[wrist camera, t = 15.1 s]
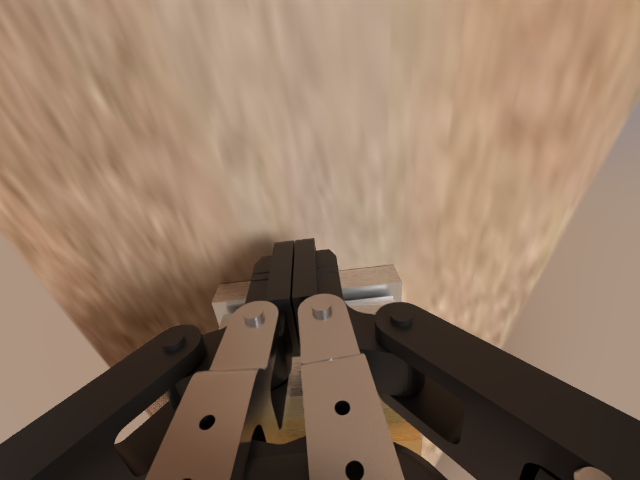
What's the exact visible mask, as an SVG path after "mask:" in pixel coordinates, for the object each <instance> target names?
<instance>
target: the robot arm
mask: <svg viewBox="0 0 640 480" xmlns="http://www.w3.org/2000/svg"><path fill="white" fill-rule="evenodd" d="M300 356H302V364H301V379H302V391H303V404H304V417H305V429H306V436H304V437H301V438H298V439H296V440H293V441H291V442H288V443H285V434H286V426H287V418H288V410H289V402H290V394H291V386H292V374H291V369H292V357H300ZM377 392H378V394H377ZM164 393H166V395H167V397H168V399H169V402H167V403H166V404H165V405H164V406H163V407H162V408H161V409H159V410H158V411H157V412H156V413H155V414H154V415H152V416H151V417H150V418H149V419H148V420H147V421H146V422H145V423H143V424H142V425H141V426H140V427H139V428H138V429H136V430H135V431H134V432H133V433H132V434H130V435H129V436H128V437H127V438H126V439H125V440H123V441H122V442H120V443H117V444H114V442H115V439H116V437H117V435H118V434H119V432H120V431H121V430H122V429H123V428H124V427H125V426H126V425H127V424H129V422H131V421H132V420H133V419H135V417H137V416H138V415H139V414H140V413H142V412H143V411H144V410H145V409H146V408H148V407H149V406H150V405H151V404H152V403H154V402H155V401H156V400H157V399H158V398H160V397H161V396H162V395H163V394H164ZM378 395H379V397H380V398H381V400H382V401H383V402H384V403H385V404H386V405H388V406H389V407H390V408H391V409H392V410H394V411H395V412H396V413H397V414H399V415H400V416H401V417H402V418H403V419H405V420H406V421H407V422H408V423H409V424H411V425H412V426H413V427H414V428H415V429H417V430H418V431H419V432H420V433H421V434H423V435H424V436H425V437H426V438H427V439H429V440H430V441H431V442H432V443H433V444H435V445H436V446H437V447H438V448H439V449H441V450H442V451H443V452H444V453H446V454H447V455H448V456H449V457H450V458H452V459H453V460H454V461H455V462H456V463H458V464H459V465H460V466H461V467H462V468H464V469H465V470H466V471H467V472H468V473H470V474H471V475H472V476H473V477H475V478H476V479H477V480H640V421H639V420H637V419H635V418H633V417H631V416H629V415H627V414H625V413H624V412H622V411H620V410H618V409H616V408H614V407H612V406H610V405H608V404H606V403H604V402H602V401H600V400H598V399H596V398H595V397H592V396H591V395H589V394H587V393H585V392H583V391H581V390H579V389H577V388H575V387H573V386H571V385H569V384H567V383H565V382H563V381H561V380H559V379H558V378H556V377H554V376H552V375H550V374H548V373H546V372H544V371H542V370H540V369H538V368H536V367H534V366H532V365H530V364H528V363H526V362H524V361H523V360H521V359H519V358H517V357H515V356H513V355H511V354H509V353H507V352H505V351H503V350H501V349H499V348H497V347H495V346H493V345H491V344H489V343H487V342H486V341H484V340H482V339H480V338H478V337H476V336H474V335H472V334H470V333H468V332H466V331H464V330H462V329H460V328H458V327H456V326H454V325H452V324H451V323H449V322H447V321H445V320H443V319H441V318H439V317H437V316H435V315H433V314H431V313H429V312H427V311H425V310H423V309H421V308H419V307H417V306H415V305H413V304H410V303H405V302H393V303H389V304H386V305H384V306H382V307H380V308H379V309H378V311H377V312H376V314H368V313H362V312H358V311H356V310H354V309H352V308H350V307H349V306H348V305H347V304H346V303H345V301H344V299H343V294H342V288H341V282H340V276H339V271H338V265H337V259H336V255H335V254H334V253H333V252H332V251H330V250H329V249H327V250H318V251H316V248H315V240H314V238H311V239H302V240H295V242H294V241H285V242H276V243H275V244H274V249H273V255H272V256H265V257H262V258H261V259H260V260H259V261H258V262H257V263H256V264H255V266H254V270H253V275H252V278H251V282H250V286H249V290H248V293H247V297H246V301H245V305H243V306H241V307H240V308H238V309H237V310H236V311H235V312H234V313H233V314H232V316H231V318H230V321H229V323H228V326H226V327H224V328H222V329H219V330H217V331H214V332H211V333H208V334H205V335H202V334H201V332H200V330H199V329H198V328H197V327H195V326H193V325H180V326H176V327H173V328H170V329H168V330H166V331H164V332H162V333H161V334H159V335H158V336H156V337H155V338H154V339H152V340H151V341H149V342H148V343H146V344H145V345H143V346H142V347H140V348H139V349H138V350H136V351H135V352H133V353H132V354H130V355H129V356H127V357H126V358H125V359H123V360H122V361H120V362H119V363H117V364H116V365H114V366H113V367H111V368H110V369H109V370H107V371H106V372H104V373H103V374H101V375H100V376H99V377H97V378H96V379H94V380H93V381H91V382H90V383H88V384H87V385H85V386H84V387H82V388H81V389H80V390H78V391H77V392H75V393H74V394H72V395H71V396H69V397H68V398H67V399H65V400H64V401H62V402H61V403H59V404H58V405H56V406H55V407H54V408H52V409H51V410H49V411H48V412H46V413H45V414H43V415H42V416H40V417H39V418H38V419H36V420H35V421H33V422H32V423H30V424H29V425H27V426H26V427H25V428H23V429H22V430H20V431H19V432H17V433H16V434H14V435H13V436H12V437H10V438H9V439H7V440H6V441H4V442H3V443H1V444H0V480H447V479H446V478H445V477H444V476H443V475H442V474H441V473H440V472H439V471H438V470H437V469H436V468H435V467H434V466H432V465H431V464H430V463H429V462H428V461H426V460H425V459H424V458H422V457H421V456H420V455H418V454H417V453H415V452H413V451H412V450H410V449H408V448H407V447H404V446H402V445H400V444H398V443H395V442H393V441H392V438H391V435H390V432H389V428H388V425H387V422H386V419H385V416H384V413H383V409H382V406H381V403H380V400H379V397H378Z"/></svg>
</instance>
